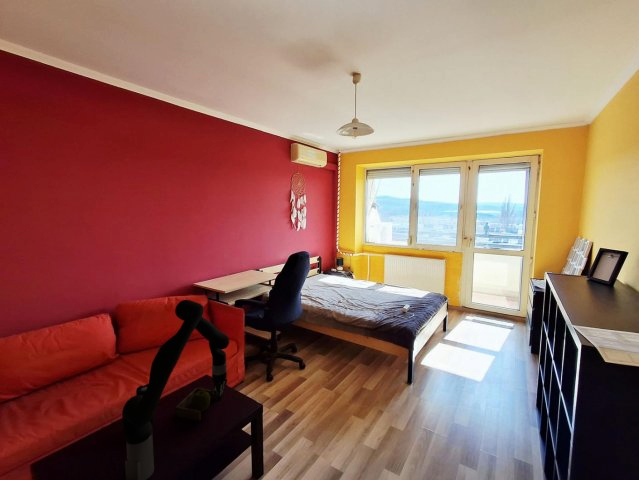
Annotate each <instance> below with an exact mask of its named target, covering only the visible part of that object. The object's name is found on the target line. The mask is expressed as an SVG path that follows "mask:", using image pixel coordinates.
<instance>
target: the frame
mask: <svg viewBox="0 0 639 480" xmlns="http://www.w3.org/2000/svg"><path fill="white" fill-rule="evenodd" d="M202 390H204V391H206V392H208V393H209V395H210V400H214V401H217V396H214V395H213V394H212V393H211V390H212V389H207V388H203V387H195V388H194V389H193V390H192V391H191V392H190V393H189V394H188V395H187V396H185V398H184V399H182V401H181V402H179V403H178V404H177V405H176V406H175V411H174V412H175V417H179V418H183V419H189V420H193V421H200V422H201V419H202V414H201V413H202V412H201V411H200V410H195V409H193V408H189V406H190V405H191V400H192V397H193V396H194V394H196V393H197V392H198V391H202Z"/></svg>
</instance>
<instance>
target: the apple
mask: <svg viewBox="0 0 639 480" xmlns="http://www.w3.org/2000/svg"><path fill="white" fill-rule="evenodd" d="M210 404H211V399H210V395H209V393H208V392H206V391H204V390H202V391H198V392H197V393H196V394H194V396H193V397H192V400H191V403H190V405H191V407H192V408H191V409H195V410H200V411H201V413H202V412H204V411H206V410H208V408H209V406H210Z"/></svg>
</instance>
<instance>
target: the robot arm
mask: <svg viewBox="0 0 639 480" xmlns="http://www.w3.org/2000/svg"><path fill="white" fill-rule="evenodd" d="M204 309H205V307H204V305H203V304H202V303H199V302H196V301H194V300H191V299H182V300H181V301H179V302H178V303H177V304H176V306H175V310H174V313H175V316H176V317H177V318H178V319H179V320H181V321H183V322H182V323H181V326H180V328H179V329H178V331H176V332H175V334H174V335H173V336H171V337H170V338H169V339H167V340H166V341H165V342H164V343H163V344H162V345H161V346H160V347H159V349H158V350H157V352H156V354H155V356H154V358H153V360H152V363H151V365H150V372H149V378H148V383H147V384H148V387H147V389H146V391H145V393H144V395H143V396H142V395H133V396H132V397H130V398H129V399H128V400H127V401H126V402H125V403H124V405H123V407H122V412H121V413H122V414H121V415H122V416H121V418H122V428H123V434H124V436H125V443H126V459H125V461H124V465H125V467H124V469H125V480H148V479H150V478H151V477H152V475H153V473H154V471H155V460H154V459H155V458H154V438H153V437H154V435H153V426H152V425H151V423H150V421H149V420H150V419H151V418H152V416H153V414H154V415H155V412H156V410H157V408H158V405H159V403H160V401H161V397H162V394H163V393H164V389H165V388H166V386H167V383H168V381H169V379H170V378H171V375H172V373H173V371H174V369H175V367H176V365H177V363H178V361H179V359H180V357H181V355H182V353H183V352H184V349H185V347H186V346H187V343H188V341H189V340H190V338H191V335H193V333H194V331H195V330H196V331H197V332H198V333H199V335H201V336H202V337H203V338H204V339H205V340H207V341H208V347H209V350H210V353H211V357H212V358H211V359H212V360H211V361H212V363H211V377H212V378H211V381H212V382H213V389H210V390H211V393H212V394H213V395H214V396H217V400H216V402H219V403H221V402H222V401H223V393H224V391H225V390H226V386H227V383H228V379H227V377H228V374H227V368H228V367H227V366H228V365H227V353H226V351H224V350H225V349H227V348H228V347H229V345H230V338H229V336H228V335H227V334H225V333H224V332H223V331H220V330H219V329H218V328H217V327H216V326H215V325H214V324H213V323H212V322H211V321H209V320H208V319H206V318H205V317H203V315H204V311H205V310H204Z"/></svg>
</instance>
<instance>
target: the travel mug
mask: <svg viewBox="0 0 639 480" xmlns="http://www.w3.org/2000/svg"><path fill="white" fill-rule="evenodd" d="M147 387H148V383H146V384H145V385H139V386H138V387H137V388H136V390H135V392H136V393H135V394H136V395H142V396H143V395H144V393H145V391H146V389H147ZM136 395H135V396H136ZM149 421H150V423H151V425H152V427H153V426H154V424H155V413H154V414H153V416H152V418H151V419H150V420H149Z"/></svg>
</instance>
